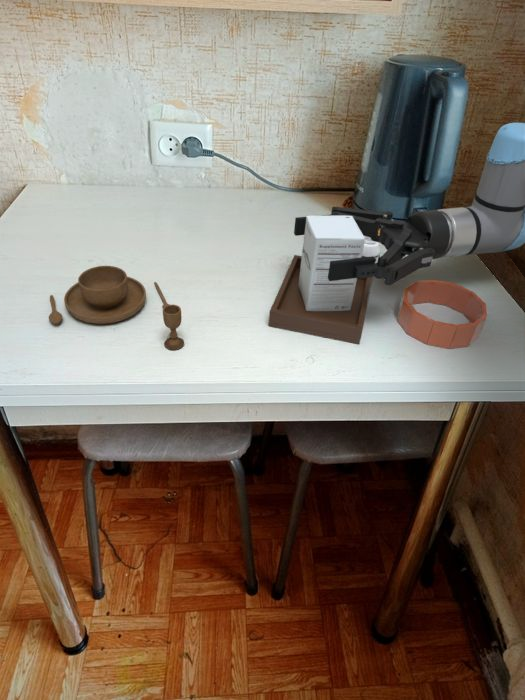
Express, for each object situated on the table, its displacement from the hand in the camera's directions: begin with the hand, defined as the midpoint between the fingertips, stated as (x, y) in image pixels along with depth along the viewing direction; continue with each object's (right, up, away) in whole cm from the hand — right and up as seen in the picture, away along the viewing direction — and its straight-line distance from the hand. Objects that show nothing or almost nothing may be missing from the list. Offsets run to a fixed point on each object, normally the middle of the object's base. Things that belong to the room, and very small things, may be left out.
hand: (311, 247), depth 74 cm
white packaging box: (+3, -7, +7) cm, 10 cm away
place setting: (-29, -11, +1) cm, 31 cm away
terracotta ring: (+20, -11, +5) cm, 23 cm away
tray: (+3, -7, +7) cm, 11 cm away
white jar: (+12, +3, +21) cm, 25 cm away
